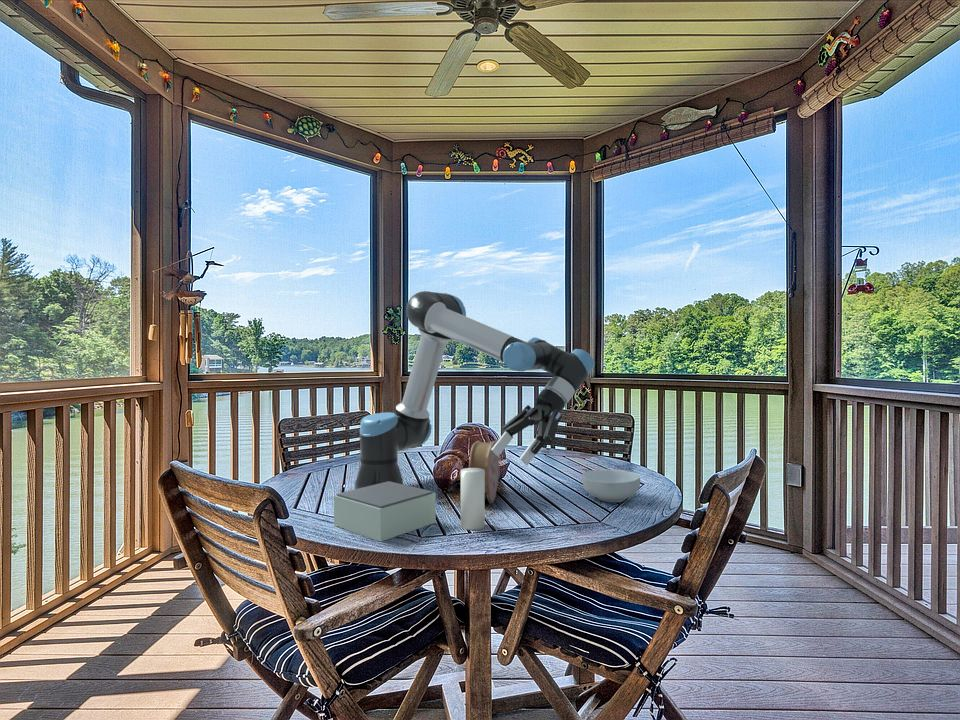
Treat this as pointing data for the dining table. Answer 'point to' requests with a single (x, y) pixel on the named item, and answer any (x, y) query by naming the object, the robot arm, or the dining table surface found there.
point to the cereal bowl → (611, 484)
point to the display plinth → (384, 510)
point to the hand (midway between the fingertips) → (508, 457)
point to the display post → (472, 498)
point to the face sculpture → (486, 466)
